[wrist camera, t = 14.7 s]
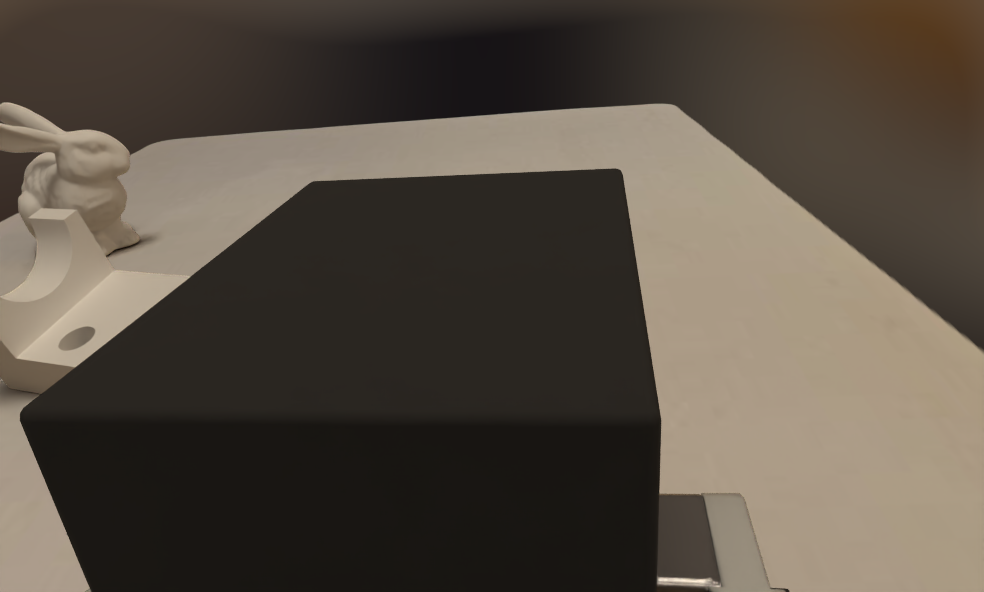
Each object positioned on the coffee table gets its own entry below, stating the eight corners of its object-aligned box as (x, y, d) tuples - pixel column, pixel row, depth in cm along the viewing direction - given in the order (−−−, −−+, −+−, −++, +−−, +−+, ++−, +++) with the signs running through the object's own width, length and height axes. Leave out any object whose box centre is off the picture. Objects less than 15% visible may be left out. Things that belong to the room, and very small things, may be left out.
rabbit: (167, 243, 58) (123, 91, 53) (43, 284, 51) (-21, 116, 46) (104, 221, 65) (61, 85, 60) (-11, 254, 59) (-70, 106, 54)
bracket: (20, 400, 38) (-74, 291, 33) (111, 313, 43) (41, 208, 38) (214, 435, 34) (138, 314, 29) (291, 333, 39) (236, 216, 34)
